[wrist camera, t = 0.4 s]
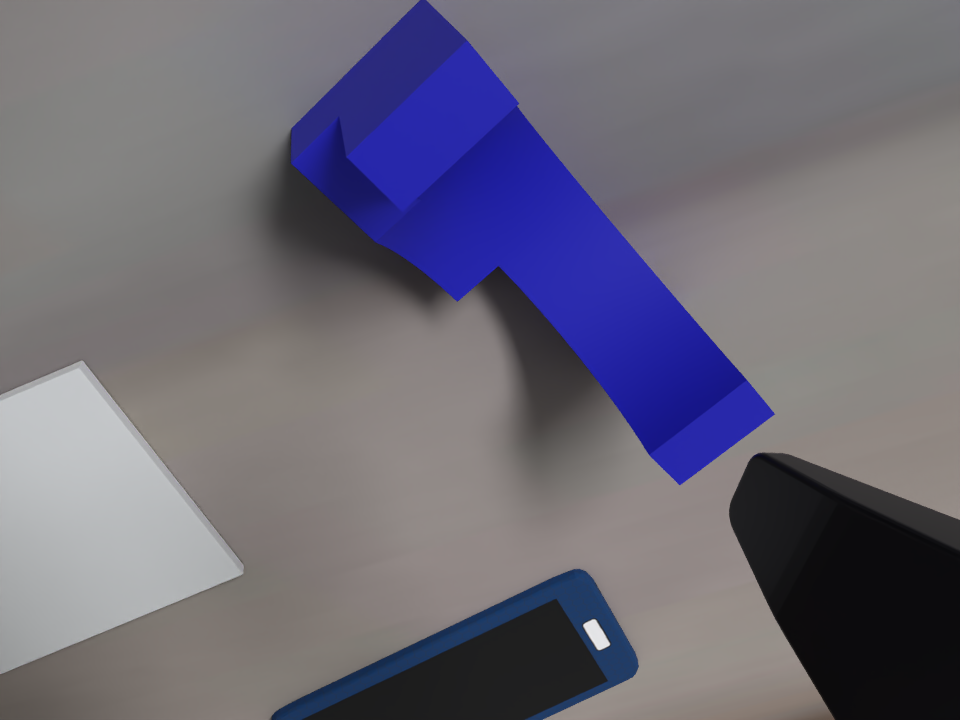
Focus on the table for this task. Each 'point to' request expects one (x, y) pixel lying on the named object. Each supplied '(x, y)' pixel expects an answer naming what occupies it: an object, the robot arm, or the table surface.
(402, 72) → the cable clip
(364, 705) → the cell phone
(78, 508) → the white square pad
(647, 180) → the table surface
